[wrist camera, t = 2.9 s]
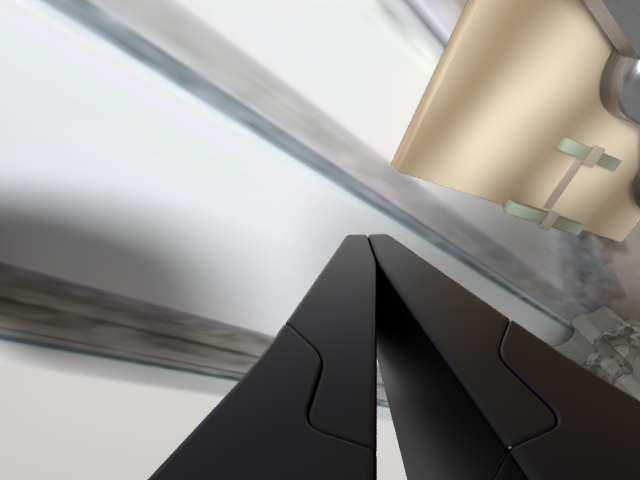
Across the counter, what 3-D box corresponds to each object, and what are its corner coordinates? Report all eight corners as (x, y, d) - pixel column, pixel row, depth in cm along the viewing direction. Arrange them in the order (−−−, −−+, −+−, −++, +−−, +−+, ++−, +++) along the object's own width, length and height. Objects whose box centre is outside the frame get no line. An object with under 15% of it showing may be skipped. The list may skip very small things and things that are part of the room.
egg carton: (672, 333, 33) (724, 374, 29) (600, 393, 36) (639, 437, 32) (596, 291, 29) (646, 333, 25) (520, 364, 31) (556, 411, 28)
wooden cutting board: (387, 171, 21) (399, 185, 19) (613, -310, 13) (660, -346, 12) (604, 239, 26) (626, 254, 24) (855, -80, 18) (908, -85, 17)
